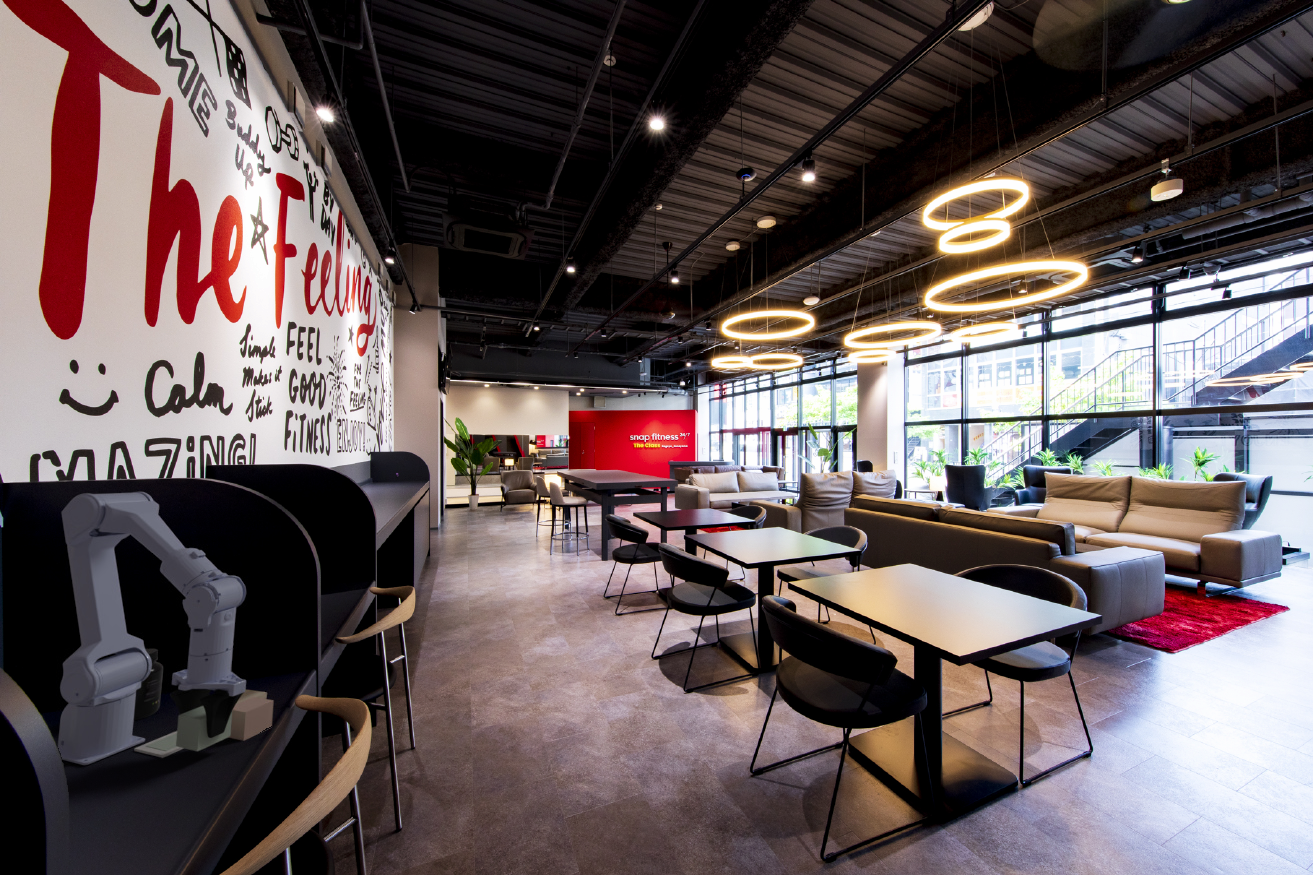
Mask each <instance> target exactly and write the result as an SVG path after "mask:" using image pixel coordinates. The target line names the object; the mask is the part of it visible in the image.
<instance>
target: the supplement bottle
mask: <svg viewBox="0 0 1313 875" xmlns="http://www.w3.org/2000/svg"><path fill="white" fill-rule="evenodd" d="M145 650H146V652H147V653H148V654H149V656H150V658H151V661H152V668H151V672H150V674H149V676H148V677H147V678H146V679H145V680H144V681H142V682H141V688H139V689H137V690H136V697H135V708H134V720H133V722H135V721H138V720H142V719H145V718H147V717H150V716H152V715H154V714H155V713H156V712H157V711H158V710H159V709H160V706H161V697H162V696H161V695H162V694H161V693H162V687H163V686H162V684H163V677H164V676H163V675H164V674H163V673H164V666H163V664H161V663H160V662H157V661H158V658H159V656H158V654H159V650H158V649H157V648H145Z"/></svg>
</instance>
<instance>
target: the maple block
mask: <svg viewBox="0 0 1313 875" xmlns="http://www.w3.org/2000/svg"><path fill="white" fill-rule="evenodd" d="M267 695H268V692H265V691H259V690H252V689H245V692H244V693H243V694H242V696H241V697H240V698H239V700H238V701H237V703H236V704H238V703H240V702H242V701H245V700H247V699H250V698H252V697H258V698H263V699H267Z"/></svg>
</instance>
